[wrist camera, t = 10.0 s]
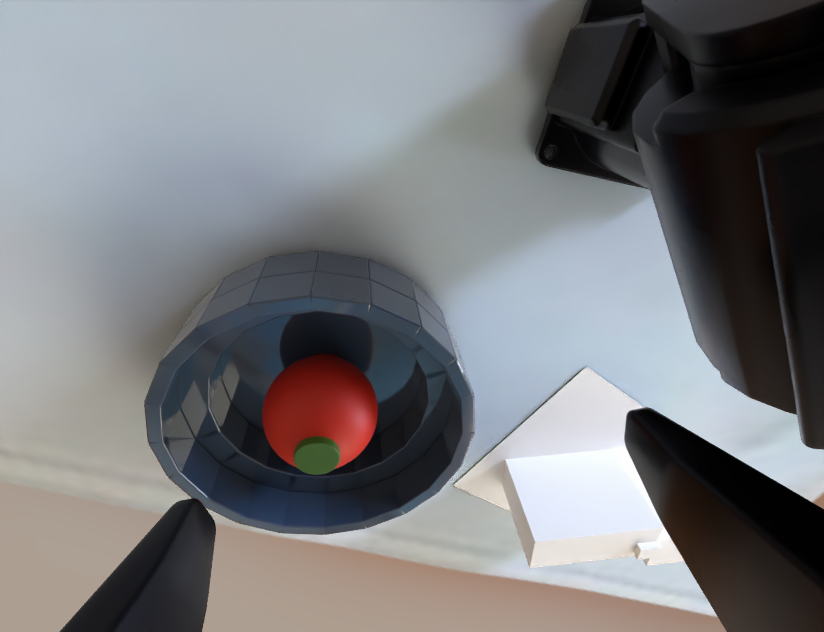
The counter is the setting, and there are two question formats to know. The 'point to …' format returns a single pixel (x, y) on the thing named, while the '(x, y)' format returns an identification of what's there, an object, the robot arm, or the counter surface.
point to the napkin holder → (574, 481)
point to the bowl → (280, 347)
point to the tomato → (320, 413)
